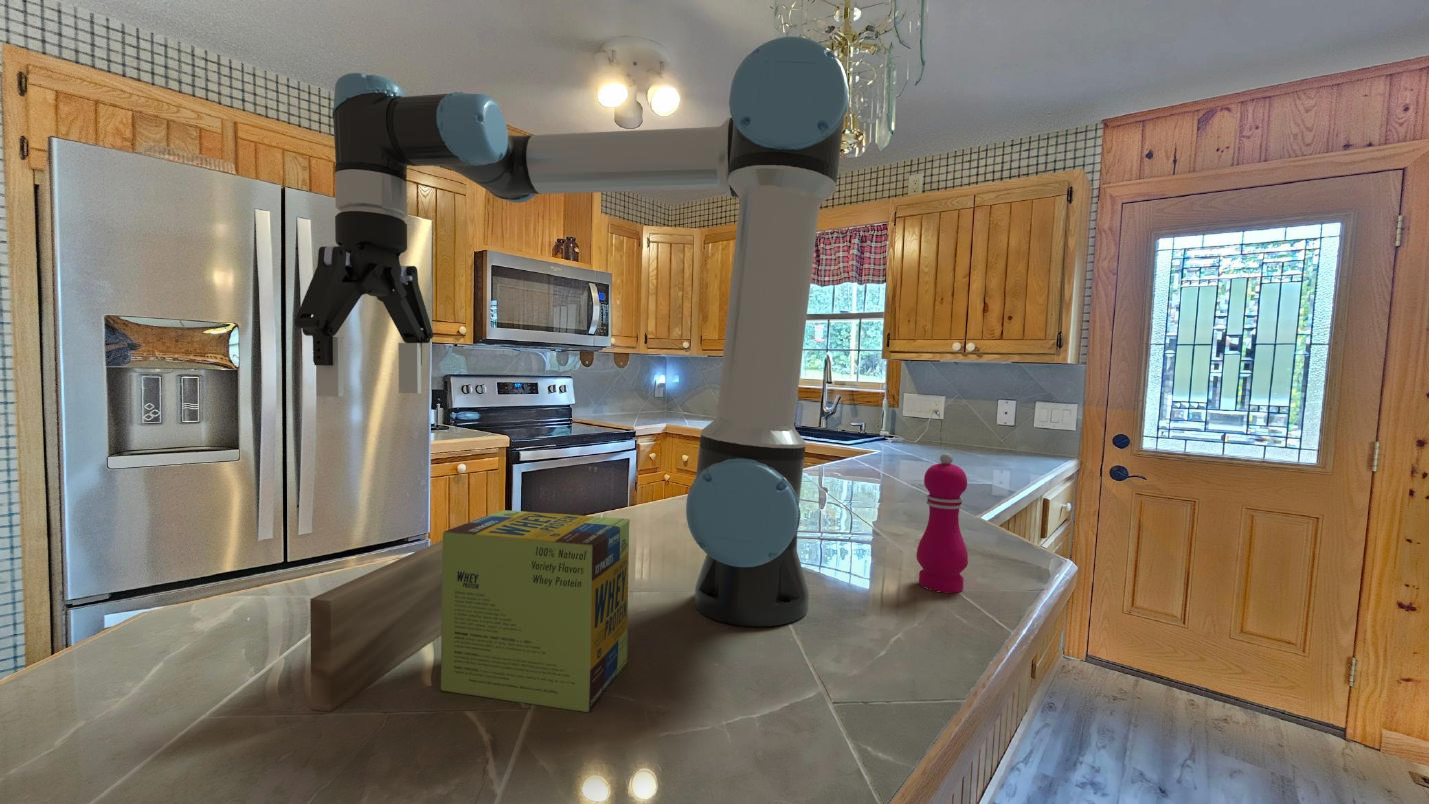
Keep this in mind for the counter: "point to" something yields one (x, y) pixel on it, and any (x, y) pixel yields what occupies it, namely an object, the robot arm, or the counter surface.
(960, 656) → the counter surface
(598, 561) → the protein box
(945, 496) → the pepper mill
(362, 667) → the board
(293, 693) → the counter surface
